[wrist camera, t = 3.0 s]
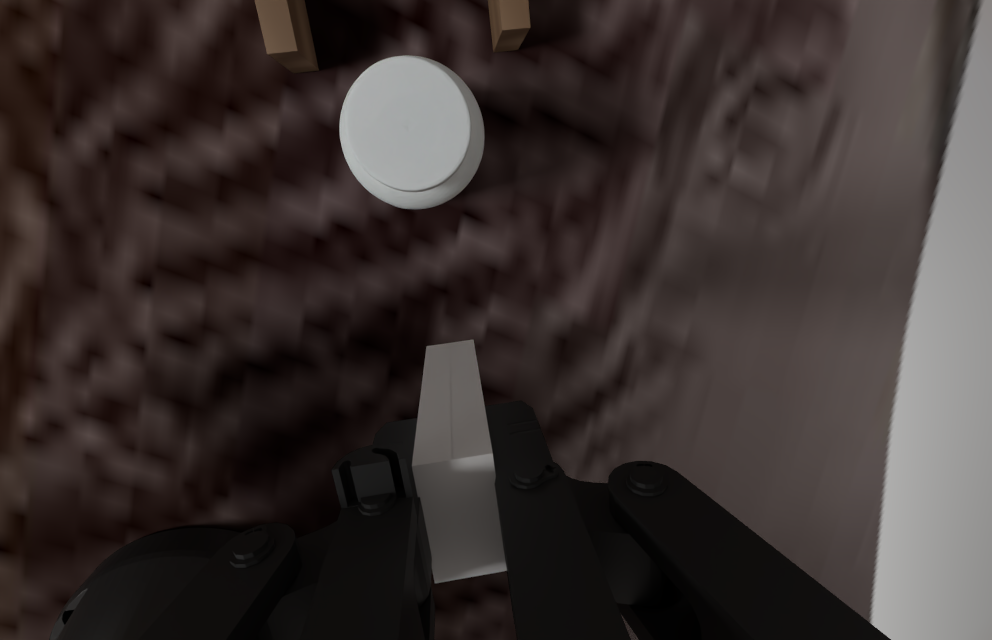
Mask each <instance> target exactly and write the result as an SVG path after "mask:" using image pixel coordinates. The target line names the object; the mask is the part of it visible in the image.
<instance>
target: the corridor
mask: <svg viewBox="0 0 992 640" xmlns="http://www.w3.org/2000/svg"><path fill="white" fill-rule="evenodd" d="M255 3H256V8H257V12H258V16H259V21H260V25H261V29H262V34H263V38H264V42H265V47H266V51H267V54H268V55H269V56H271V57H272V58H273V59H275V60H276V61H277V62H279V63H280V64H281V65H283V66H284V67H285V68H287V69H288V70H290V71H291V72H292V73H301V72H310V71H319V68H318V63H317V59H316V54H315V49H314V44H313V39H312V34H311V29H310V24H309V19H308V14H307V10H306V5H305V0H255ZM488 6H489V15H490V24H491V34H492V43H493V52H503V51H513V50H518V49H519V47H520V45H521V43H522V42H523V40H524V38H525V36H526V35H527V33H528V31H529V29H530V28H531V27H530V15H529V4H528V0H488Z"/></svg>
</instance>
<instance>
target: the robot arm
mask: <svg viewBox="0 0 992 640" xmlns="http://www.w3.org/2000/svg"><path fill="white" fill-rule="evenodd" d="M331 471H332V475H333V479H334V482H335V486H336V490H337V494H338V498H339V502H340V506H341V511H340V514H339V517H338V520H337V521H335V522H334V523H332V524H331V525H328V526H326V527H324V528H322V529H320V530H317V531H315V532H312V533H309V534H307V535H304V536H302V537H299V538H296V536H295V532H294V530H293V529H292V528H291V527H289V526H288V525H287V524H281V523H270V524H262V525H259V526H256V527H254V528H250V529H248V530H246V531H244V532H242V533H240V532H235V531H231V530H224V529H216V528H183V529H175V530H169V531H164V532H160V533H156V534H152V535H149V536H146V537H143V538H141V539H138V540H136V541H134V542H132V543H130V544H128V545H126V546H124V547H122V548H121V549H119V550H117V551H116V552H115V553H113V554H112V555H110V556H109V557H108V558H107V559H106V560H104V561H103V562H102V563H101V564H100V565H99V566H98V567H97V568H96V570H95V571H94V572H93V573H92V574H91V575H90V576H89V577H88V579H87V580H86V581H85V582H84V583H83V584H82V585H81V586H80V588H79V589H78V590H77V591H76V592H75V593H74V594H73V596H72V597H71V598H70V599H69V601H68V602H67V604H66V605H65V607H64V608H63V610H62V611H61V613H60V615H59V617H58V619H57V621H56V623H55V625H54V628H53V630H52V632H51V635H50V638H49V640H434V627H435V604H434V599H433V594H432V589H431V569H432V572H433V577H434V582H435V583H440V582H446V581H452V580H457V579H463V578H469V577H475V576H480V575H486V574H492V573H497V572H503V571H507V575H508V582H509V589H510V596H511V603H512V611H513V618H514V624H515V629H516V636H517V640H631V639H630V637H629V634H628V631H627V629H626V626H625V624H624V621H623V619H622V616H623V617H624V619H625V620H626V622H627V623H628V624H629V626H630V627H631V629H632V630H633V632H634V633H635V634H636V636H637V637H638V639H639V640H891V639H889V638H888V637H887V636H886V635H884V634H883V633H882V632H880V631H879V630H878V629H877V628H875V627H874V626H873V625H872V624H870V623H869V622H868V621H867V620H865V619H864V618H863V617H861V616H860V615H859V614H858V613H856V612H855V611H854V610H853V609H851V608H850V607H849V606H847V605H846V604H845V603H844V602H842V601H841V600H840V599H839V598H837V597H836V596H835V595H833V594H832V593H831V592H830V591H828V590H827V589H826V588H825V587H823V586H822V585H821V584H819V583H818V582H817V581H816V580H814V579H813V578H812V577H811V576H809V575H808V574H807V573H805V572H804V571H803V570H802V569H800V568H799V567H798V566H796V565H795V564H794V563H793V562H791V561H790V560H789V559H788V558H786V557H785V556H784V555H782V554H781V553H780V552H779V551H777V550H776V549H775V548H774V547H772V546H771V545H770V544H768V543H767V542H766V541H765V540H763V539H762V538H761V537H760V536H758V535H757V534H756V533H754V532H753V531H752V530H751V529H749V528H748V527H747V526H746V525H744V524H743V523H742V522H740V521H739V520H738V519H737V518H735V517H734V516H733V515H732V514H730V513H729V512H728V511H726V510H725V509H724V508H723V507H721V506H720V505H719V504H718V503H716V502H715V501H714V500H712V499H711V498H710V497H709V496H707V495H706V494H705V493H704V492H702V491H701V490H700V489H698V488H697V487H696V486H695V485H693V484H692V483H691V482H690V481H688V480H687V479H686V478H684V477H683V476H682V475H681V474H679V473H678V472H677V471H675V470H673V469H671V468H670V467H668V466H666V465H663V464H659V463H655V462H650V461H635V462H629V463H624V464H622V465H621V466H619V467H617V468H615V469H614V470H613V471H612V473H611V474H610V475H609V480H608V483H591V482H584V481H579V480H575V479H572V478H570V477H568V476H566V475H565V473H564V471H563V470H562V469H561V467H560V466H559V465H558V464H557V463H555V462H553V460H552V457H551V455H550V452H549V449H548V447H547V444H546V441H545V439H544V436H543V434H542V431H541V429H540V426H539V423H538V421H537V418H536V415H535V412H534V410H533V408H532V407H530V406H529V405H527V404H526V403H524V402H523V401H516V402H509V403H503V404H496V405H489V406H485V405H484V399H483V393H482V387H481V381H480V375H479V369H478V363H477V358H476V352H475V346H474V340H467V341H460V342H453V343H446V344H439V345H432V346H426V354H425V362H424V370H423V379H422V387H421V395H420V403H419V411H418V418H414V419H408V420H401V421H395V422H388V423H386V424H385V425H384V426H383V427H382V428H381V429H380V430H379V431H378V432H377V433H376V435H375V438H374V442H373V445H370V446H366V447H362V448H359V449H357V450H355V451H353V452H351V453H348V454H347V455H345V456H344V457H343V458H341V459H340V460H339V461H337V463H336V464H335V466H334V467H333V468H332V470H331ZM620 613H621V614H620ZM621 615H622V616H621Z"/></svg>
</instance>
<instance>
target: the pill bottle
mask: <svg viewBox="0 0 992 640" xmlns="http://www.w3.org/2000/svg"><path fill="white" fill-rule="evenodd" d="M340 140H341V145H342V150H343V153H344V156H345V158H346V161H347V163H348V165H349V167H350V169H351V171H352V173H353V174H354V175H355V177H356V178H357V179H358V181H359V182H360V183H361V184H362V185H363V186H364V187H365V188H366V189H367V190H368V191H369V192H370V193H372V194H373V195H374V196H376V197H377V198H379V199H381V200H382V201H384V202H386V203H389V204H391V205H393V206H396V207H399V208H404V209H425V208H431V207H435V206H437V205H440V204H442V203H445V202H446V201H448V200H450V199H452V198H453V197H455V196H456V195H457V194H459V193H460V192H461V191H462V190H463V189H464V188H465V187H466V186H467V185H468V184H469V182H470V181H471V180H472V178H473V176H474V175H475V173H476V171H477V169H478V167H479V164H480V162H481V159H482V155H483V150H484V124H483V119H482V115H481V112H480V109H479V106H478V103H477V101H476V99H475V97H474V95H473V94H472V92H471V90H470V89H469V88H468V86H467V85H466V84H465V83H464V82H463V81H462V79H461V78H460V77H459V76H458V75H456V74H455V73H454V72H453V71H451V70H450V69H449V68H447V67H446V66H444V65H442V64H440V63H438V62H436V61H434V60H431V59H428V58H424V57H420V56H408V55H405V56H396V57H391V58H387V59H384V60H381V61H379V62H377V63H375V64H373V65H372V66H370V67H369V68H368V69H367V70H365V71H364V72H363V73H362V74H361V75H360V76H359V77H358V78H357V80H356V81H355V82H354V84H353V85H352V87H351V88H350V90H349V92H348V94H347V96H346V98H345V101H344V103H343V107H342V111H341V116H340Z"/></svg>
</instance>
